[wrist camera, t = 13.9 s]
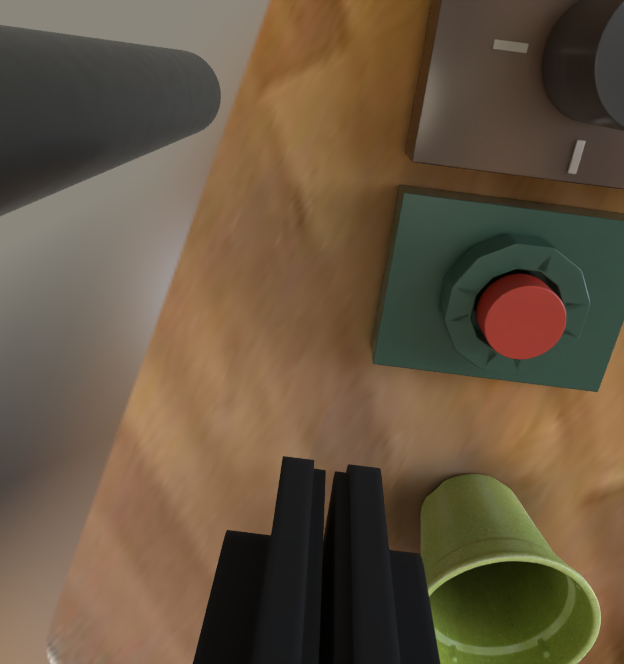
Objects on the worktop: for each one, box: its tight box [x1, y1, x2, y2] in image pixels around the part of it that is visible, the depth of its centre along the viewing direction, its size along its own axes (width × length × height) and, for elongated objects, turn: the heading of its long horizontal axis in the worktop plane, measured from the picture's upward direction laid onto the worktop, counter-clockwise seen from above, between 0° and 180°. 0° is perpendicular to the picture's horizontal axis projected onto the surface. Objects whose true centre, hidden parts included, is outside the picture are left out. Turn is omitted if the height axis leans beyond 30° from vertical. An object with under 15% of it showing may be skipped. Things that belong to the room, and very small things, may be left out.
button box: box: [371, 185, 624, 392], centre depth 29 cm, size 12×9×4 cm
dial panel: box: [405, 0, 624, 189], centre depth 25 cm, size 14×10×3 cm
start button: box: [476, 274, 566, 359], centre depth 27 cm, size 4×4×2 cm
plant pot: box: [420, 474, 601, 664], centre depth 33 cm, size 9×9×9 cm
